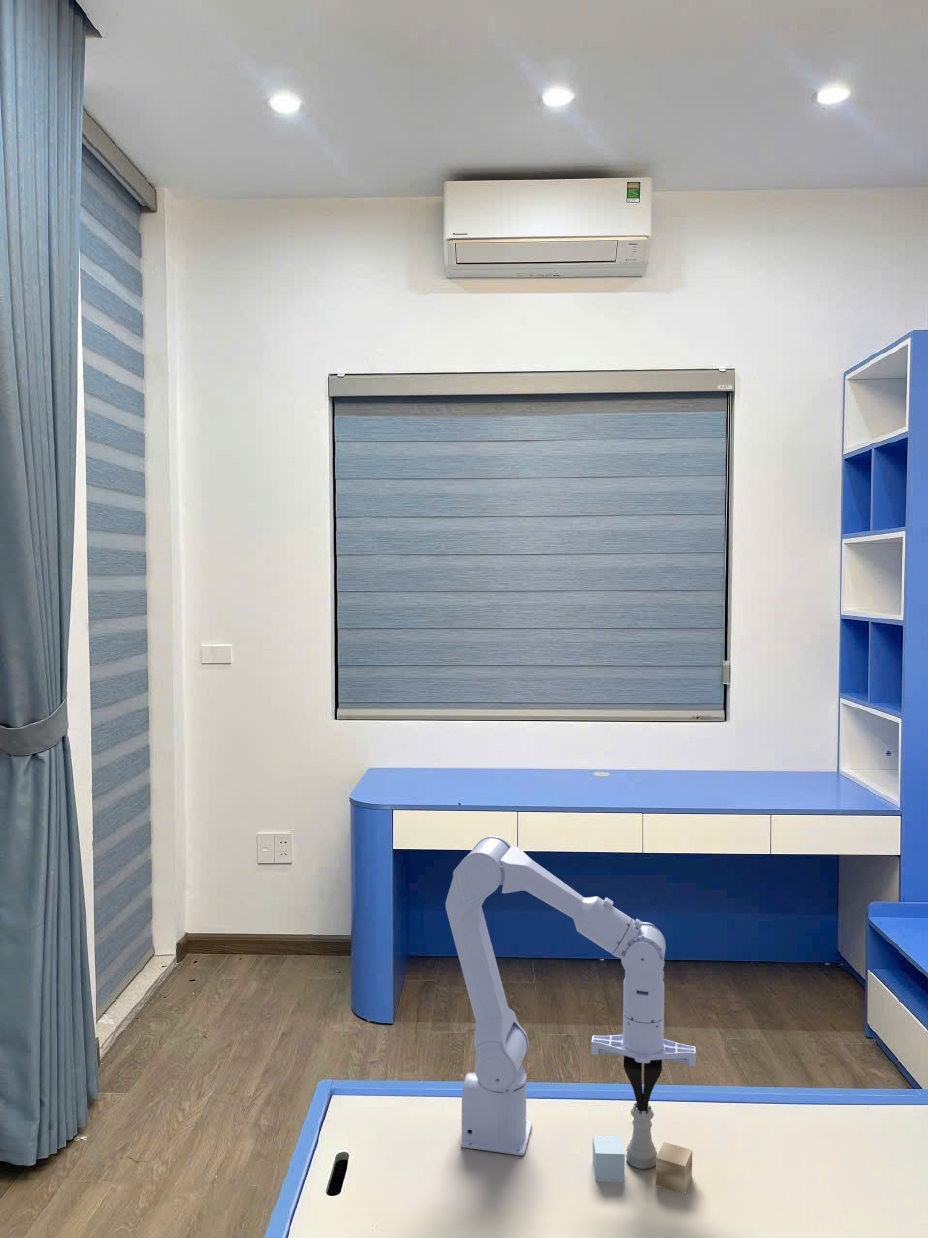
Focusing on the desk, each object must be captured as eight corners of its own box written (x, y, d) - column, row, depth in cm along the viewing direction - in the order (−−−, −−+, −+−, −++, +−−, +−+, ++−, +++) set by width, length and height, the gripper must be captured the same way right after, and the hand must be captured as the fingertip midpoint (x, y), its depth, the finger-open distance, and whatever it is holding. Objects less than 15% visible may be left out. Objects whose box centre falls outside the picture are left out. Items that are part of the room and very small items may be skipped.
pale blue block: (595, 1181, 127) (595, 1153, 127) (592, 1163, 131) (592, 1136, 131) (624, 1182, 127) (624, 1154, 127) (620, 1164, 131) (621, 1136, 131)
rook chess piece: (657, 1173, 129) (658, 1117, 129) (625, 1169, 130) (625, 1113, 130) (657, 1153, 133) (658, 1099, 133) (626, 1149, 134) (626, 1096, 134)
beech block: (655, 1186, 126) (656, 1157, 126) (663, 1169, 130) (663, 1142, 130) (684, 1195, 125) (685, 1166, 124) (691, 1178, 128) (692, 1150, 128)
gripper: (589, 1021, 128) (589, 1116, 129) (696, 1033, 125) (695, 1130, 126) (593, 999, 135) (593, 1089, 136) (695, 1009, 132) (694, 1101, 133)
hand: (642, 1107), depth 131 cm, fingers closed, pressing on rook chess piece
